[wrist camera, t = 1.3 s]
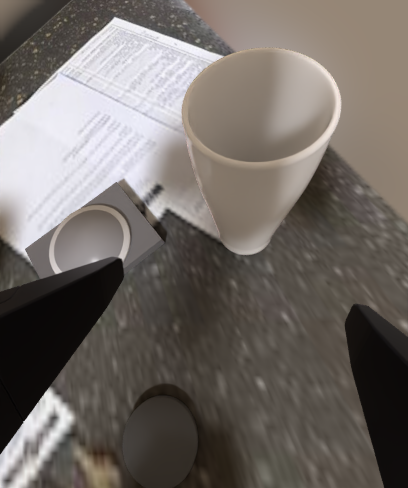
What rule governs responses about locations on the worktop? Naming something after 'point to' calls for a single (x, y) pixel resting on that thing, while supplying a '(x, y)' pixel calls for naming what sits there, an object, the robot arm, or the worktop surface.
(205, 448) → the worktop surface
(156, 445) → the lens cap
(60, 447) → the worktop surface
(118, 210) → the grey ringed base plate
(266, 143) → the drinking glass
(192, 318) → the worktop surface
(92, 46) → the worktop surface
